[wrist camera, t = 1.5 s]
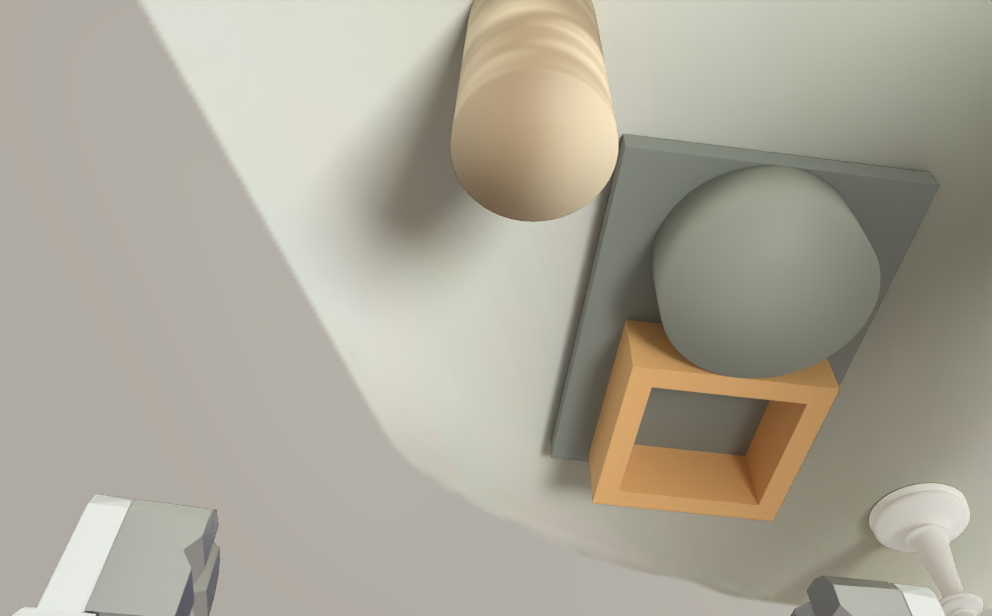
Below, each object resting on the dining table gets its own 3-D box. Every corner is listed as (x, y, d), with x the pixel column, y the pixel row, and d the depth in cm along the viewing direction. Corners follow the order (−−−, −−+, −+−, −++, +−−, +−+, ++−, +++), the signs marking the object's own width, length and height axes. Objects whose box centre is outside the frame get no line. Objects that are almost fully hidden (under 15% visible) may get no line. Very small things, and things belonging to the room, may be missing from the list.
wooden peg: (608, -28, 29) (635, 81, 22) (583, 97, 32) (600, 230, 25) (474, -46, 29) (458, 59, 22) (462, 81, 31) (443, 211, 24)
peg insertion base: (930, 172, 33) (972, 228, 30) (785, 466, 44) (805, 531, 40) (623, 133, 32) (633, 187, 29) (550, 442, 43) (553, 506, 40)
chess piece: (912, 471, 44) (998, 655, 36) (987, 499, 45) (1086, 684, 37) (849, 526, 46) (915, 708, 38) (921, 551, 48) (1000, 733, 40)
